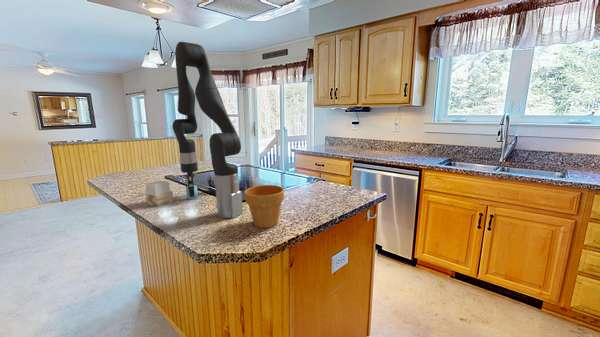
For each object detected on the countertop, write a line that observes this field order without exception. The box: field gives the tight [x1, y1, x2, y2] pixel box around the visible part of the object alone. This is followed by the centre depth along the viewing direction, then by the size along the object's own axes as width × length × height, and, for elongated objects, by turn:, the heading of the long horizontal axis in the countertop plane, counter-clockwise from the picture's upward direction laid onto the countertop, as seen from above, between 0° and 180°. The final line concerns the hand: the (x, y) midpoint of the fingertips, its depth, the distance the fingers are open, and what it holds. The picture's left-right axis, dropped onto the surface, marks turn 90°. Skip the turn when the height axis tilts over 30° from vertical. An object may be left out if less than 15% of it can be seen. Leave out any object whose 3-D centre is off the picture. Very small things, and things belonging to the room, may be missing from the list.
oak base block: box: [145, 190, 175, 208], centre depth 131 cm, size 8×8×5 cm
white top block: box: [144, 179, 171, 196], centre depth 130 cm, size 7×7×5 cm
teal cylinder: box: [185, 185, 199, 201], centre depth 136 cm, size 5×5×6 cm
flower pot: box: [244, 184, 285, 229], centre depth 104 cm, size 14×14×13 cm
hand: (192, 194), depth 137 cm, fingers open, 8 cm apart
